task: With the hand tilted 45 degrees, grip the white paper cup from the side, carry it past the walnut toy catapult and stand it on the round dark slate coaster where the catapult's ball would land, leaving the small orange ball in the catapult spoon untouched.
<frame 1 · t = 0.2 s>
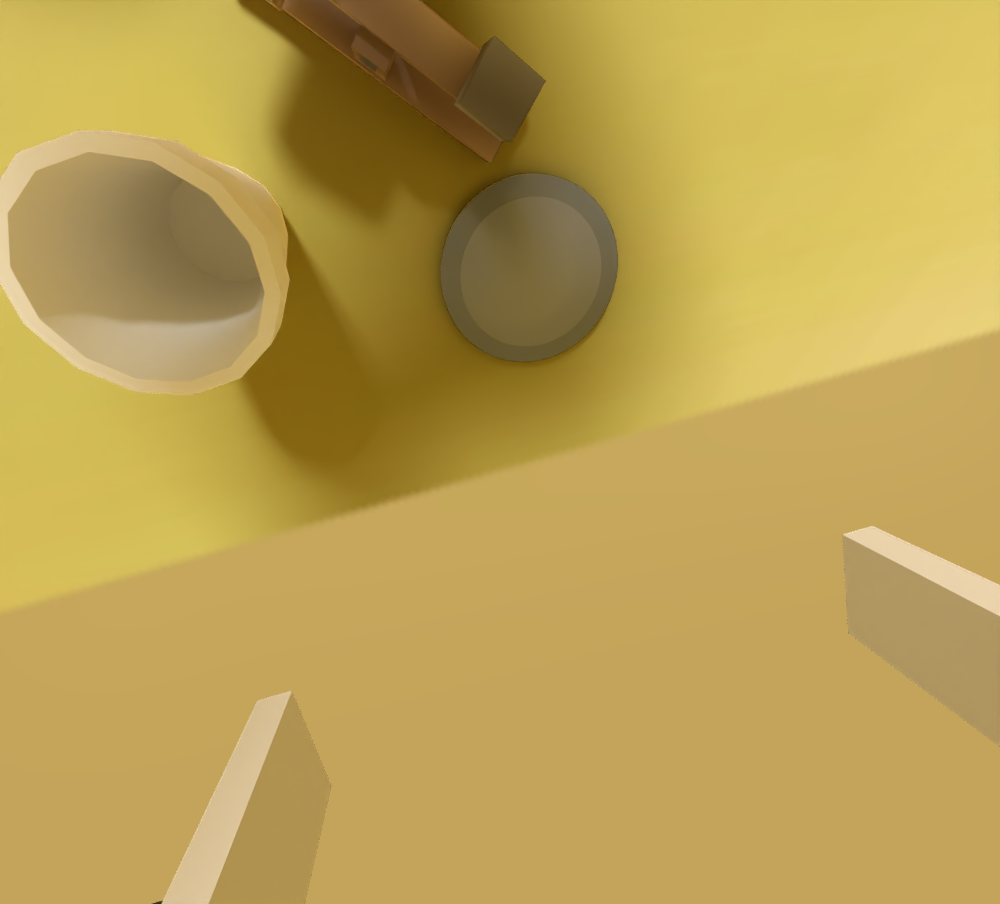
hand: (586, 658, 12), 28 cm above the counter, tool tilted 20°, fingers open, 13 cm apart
foam cup: (230, 226, 30), on the counter
catapult: (387, 35, 27), on the counter
coaster: (528, 273, 35), on the counter
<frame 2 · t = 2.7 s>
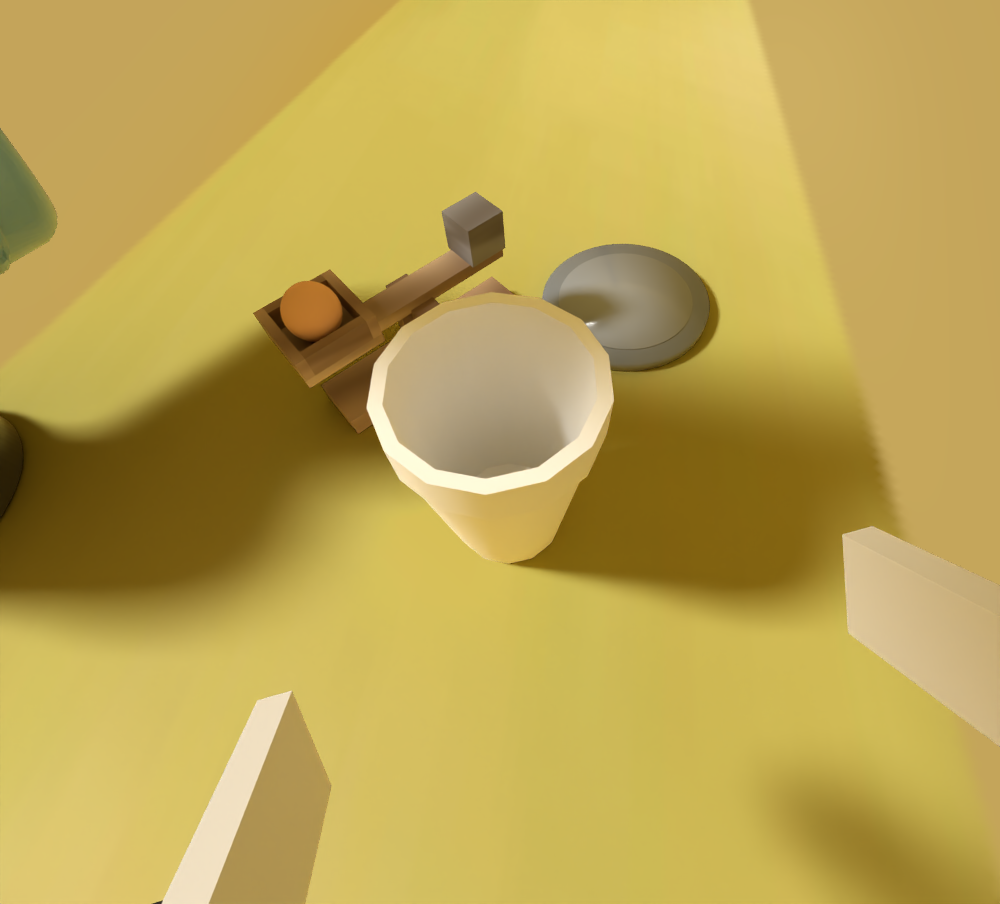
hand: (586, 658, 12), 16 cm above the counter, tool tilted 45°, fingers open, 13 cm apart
foam cup: (508, 513, 31), on the counter
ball: (312, 311, 28), point 9 cm above the counter, touching catapult
catapult: (431, 357, 37), on the counter
coaster: (622, 307, 38), on the counter
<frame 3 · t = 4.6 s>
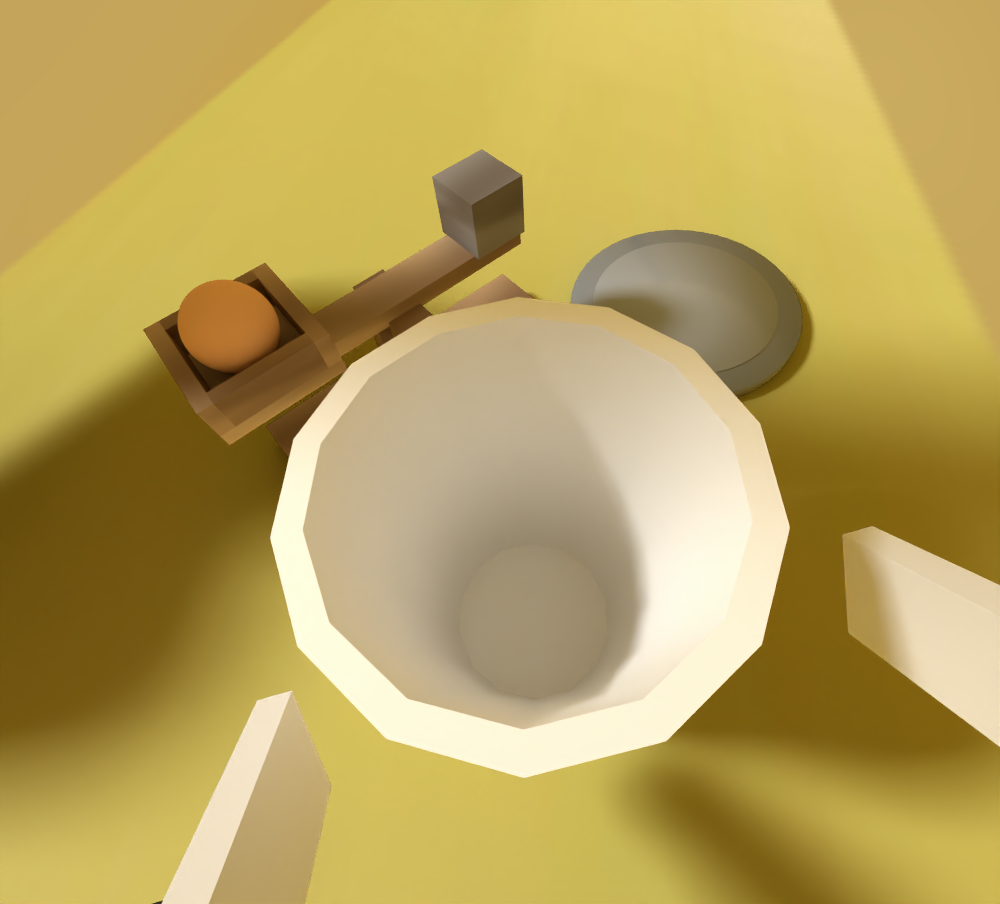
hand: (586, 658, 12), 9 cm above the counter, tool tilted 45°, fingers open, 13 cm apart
foam cup: (533, 620, 21), on the counter
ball: (230, 327, 18), point 9 cm above the counter, touching catapult
catapult: (420, 384, 27), on the counter
coaster: (679, 314, 28), on the counter
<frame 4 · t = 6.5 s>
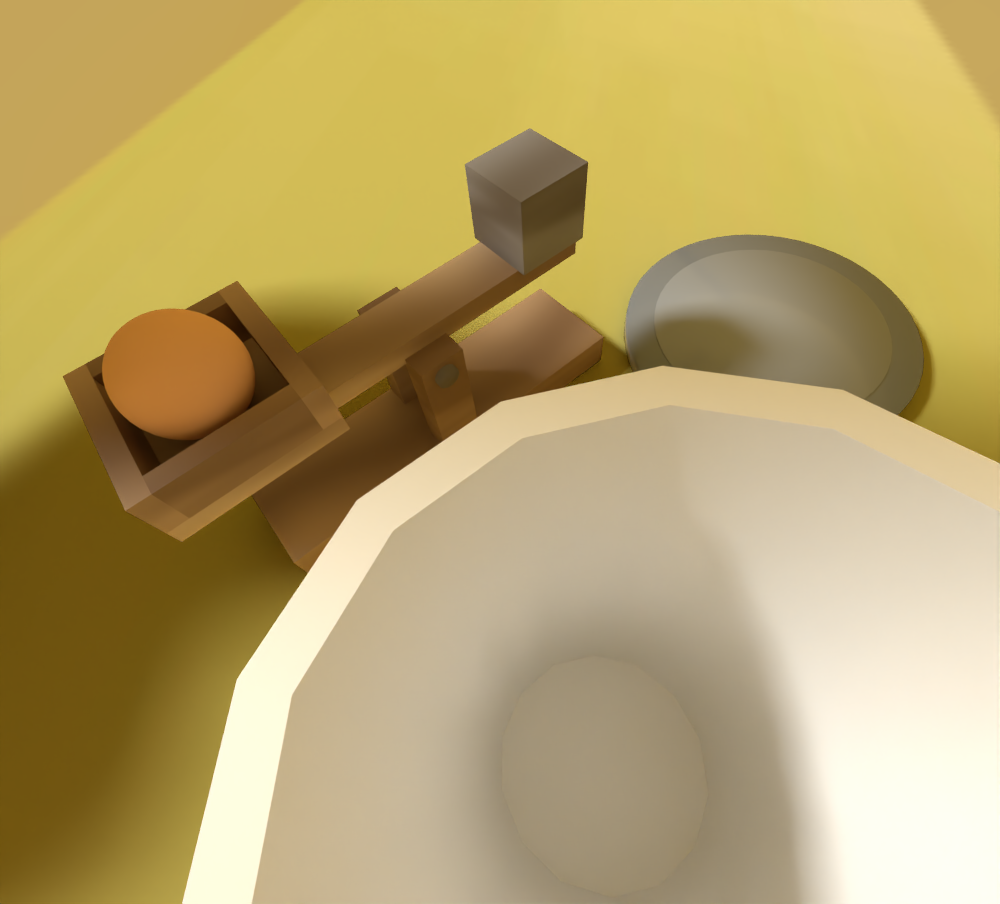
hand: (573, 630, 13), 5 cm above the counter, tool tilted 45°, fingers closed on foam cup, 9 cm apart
foam cup: (598, 763, 16), on the counter, touching gripper
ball: (183, 375, 13), point 9 cm above the counter, touching catapult
catapult: (440, 427, 22), on the counter
coaster: (760, 339, 23), on the counter
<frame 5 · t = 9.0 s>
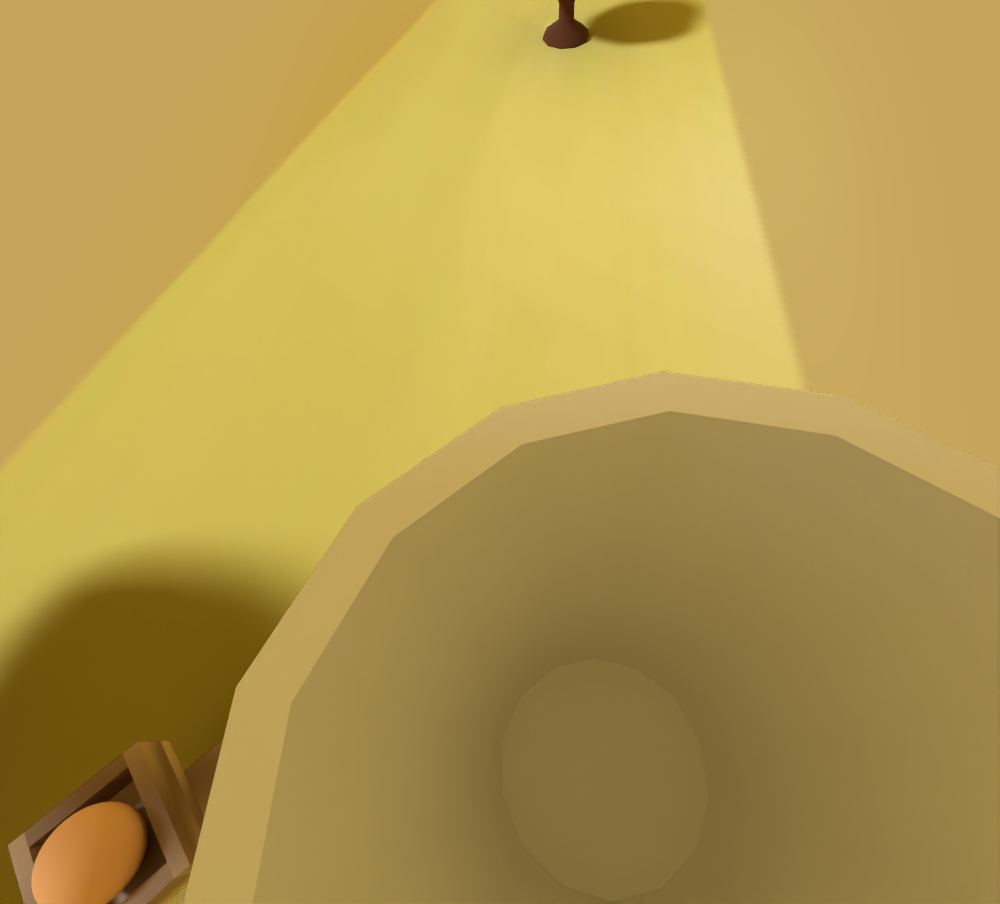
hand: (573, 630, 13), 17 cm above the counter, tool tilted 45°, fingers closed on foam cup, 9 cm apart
ice cream bowl: (565, 39, 62), on the counter
foam cup: (599, 766, 16), point 12 cm above the counter, touching gripper
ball: (92, 856, 18), point 9 cm above the counter, touching catapult
catapult: (327, 730, 27), on the counter
when the fingers open (7 cm above the counter, at t = 11.8 s): foam cup drops 1 cm, resting on coaster.
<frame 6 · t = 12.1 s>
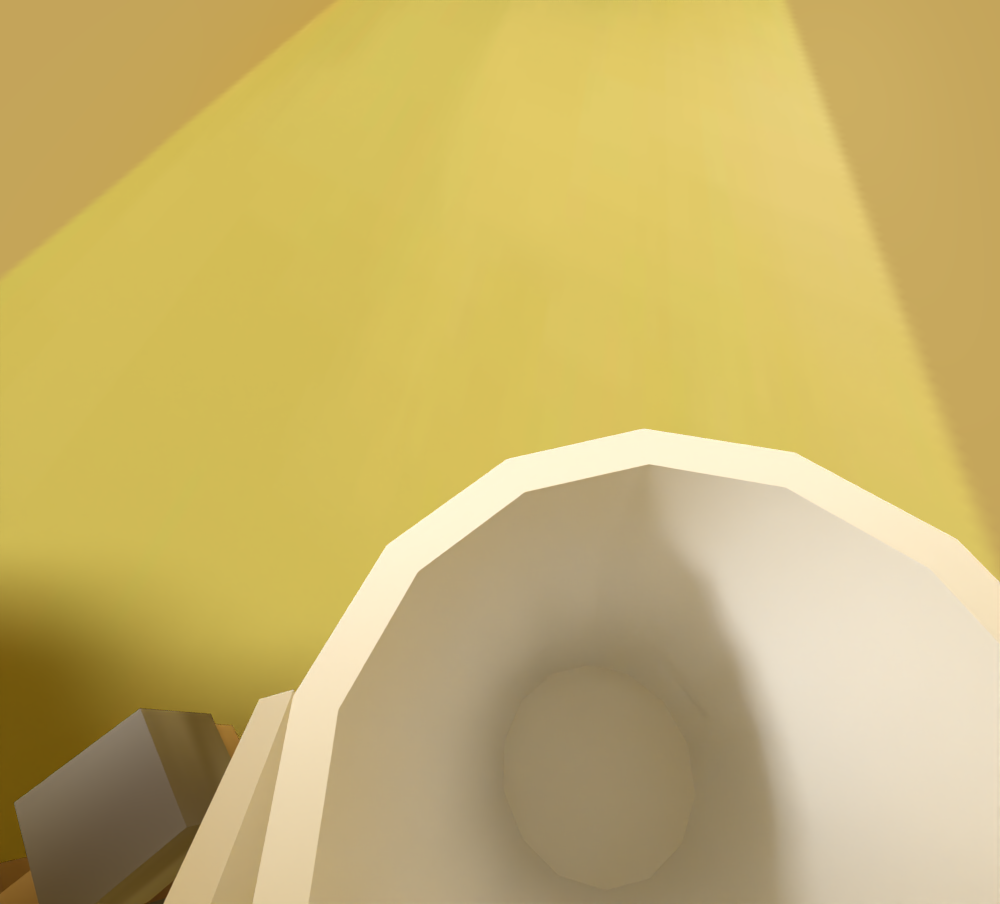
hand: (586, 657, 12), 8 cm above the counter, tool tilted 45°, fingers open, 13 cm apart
foam cup: (594, 766, 17), point 1 cm above the counter, touching coaster
catapult: (157, 903, 16), on the counter
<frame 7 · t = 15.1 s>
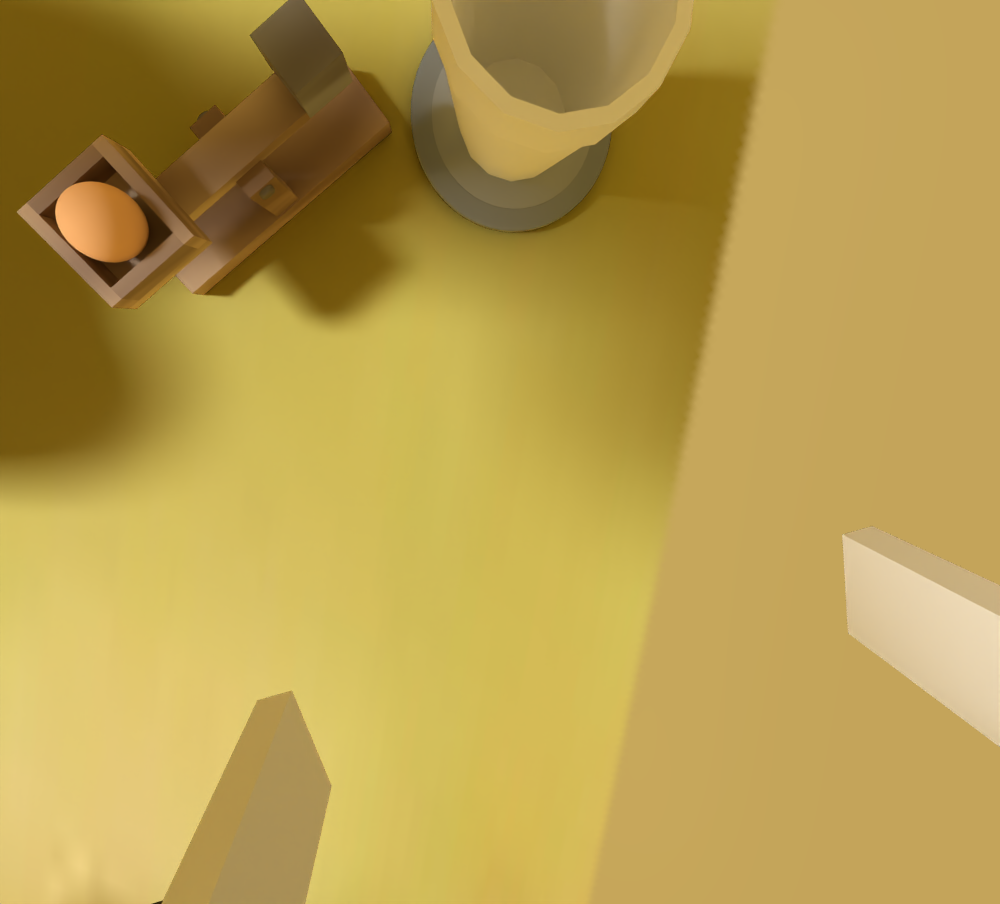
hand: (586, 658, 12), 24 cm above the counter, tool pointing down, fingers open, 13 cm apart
foam cup: (512, 123, 30), point 1 cm above the counter, touching coaster
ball: (104, 223, 22), point 9 cm above the counter, touching catapult
catapult: (271, 185, 30), on the counter
coaster: (511, 126, 31), on the counter
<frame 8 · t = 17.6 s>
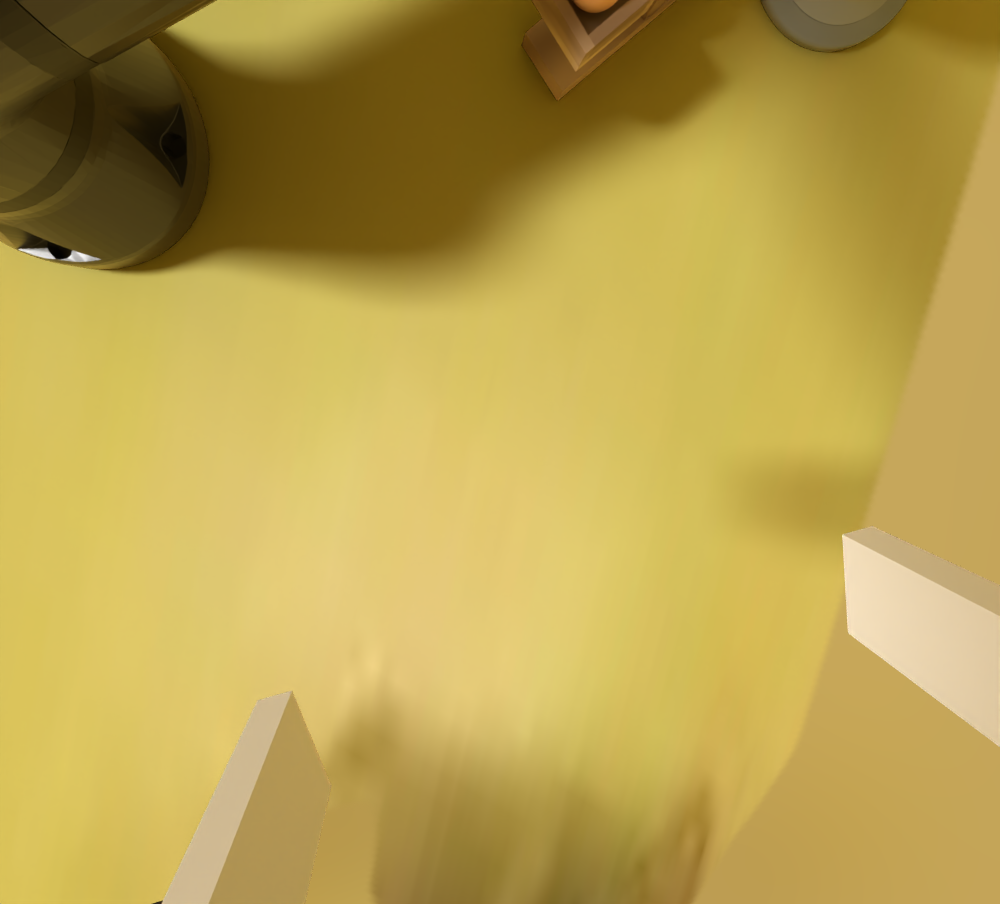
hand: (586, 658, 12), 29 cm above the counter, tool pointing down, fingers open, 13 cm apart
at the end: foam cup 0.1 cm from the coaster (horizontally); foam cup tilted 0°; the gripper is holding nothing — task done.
